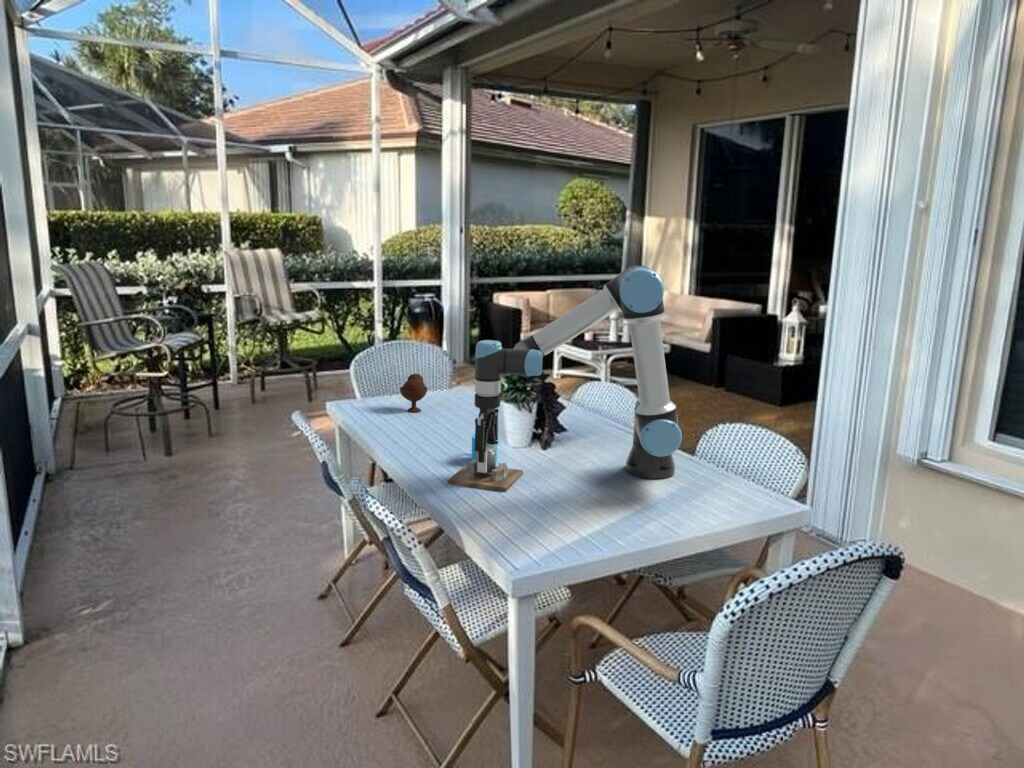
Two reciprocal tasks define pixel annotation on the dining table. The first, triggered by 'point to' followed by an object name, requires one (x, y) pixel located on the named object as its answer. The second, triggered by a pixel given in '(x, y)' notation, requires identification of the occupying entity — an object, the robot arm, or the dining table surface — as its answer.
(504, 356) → the robot arm
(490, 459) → the cap
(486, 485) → the board
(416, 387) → the ice cream bowl
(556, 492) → the dining table surface
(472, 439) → the mug
